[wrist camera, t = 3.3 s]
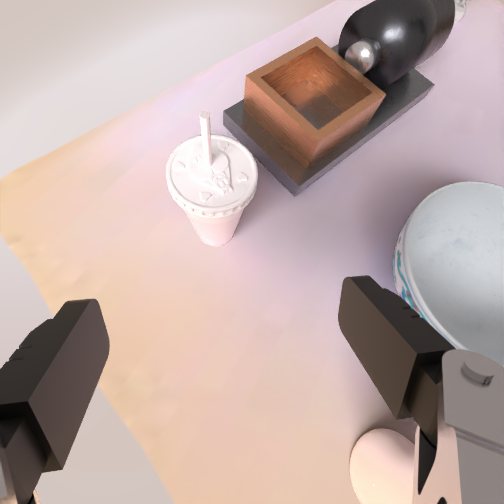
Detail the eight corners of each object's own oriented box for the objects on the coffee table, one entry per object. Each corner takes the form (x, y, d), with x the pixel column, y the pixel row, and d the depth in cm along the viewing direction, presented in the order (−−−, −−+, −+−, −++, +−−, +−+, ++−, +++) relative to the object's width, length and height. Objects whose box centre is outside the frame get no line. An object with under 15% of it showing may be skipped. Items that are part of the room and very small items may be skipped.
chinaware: (528, 285, 30) (624, 262, 23) (466, 409, 25) (563, 429, 18) (407, 196, 32) (460, 150, 25) (330, 293, 28) (368, 271, 20)
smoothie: (226, 190, 30) (228, 64, 17) (260, 238, 29) (291, 140, 16) (171, 219, 29) (127, 103, 16) (204, 271, 27) (187, 192, 14)
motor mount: (357, 44, 40) (397, -50, 31) (424, 98, 38) (489, 13, 29) (223, 124, 33) (223, 34, 24) (294, 196, 31) (325, 127, 22)
